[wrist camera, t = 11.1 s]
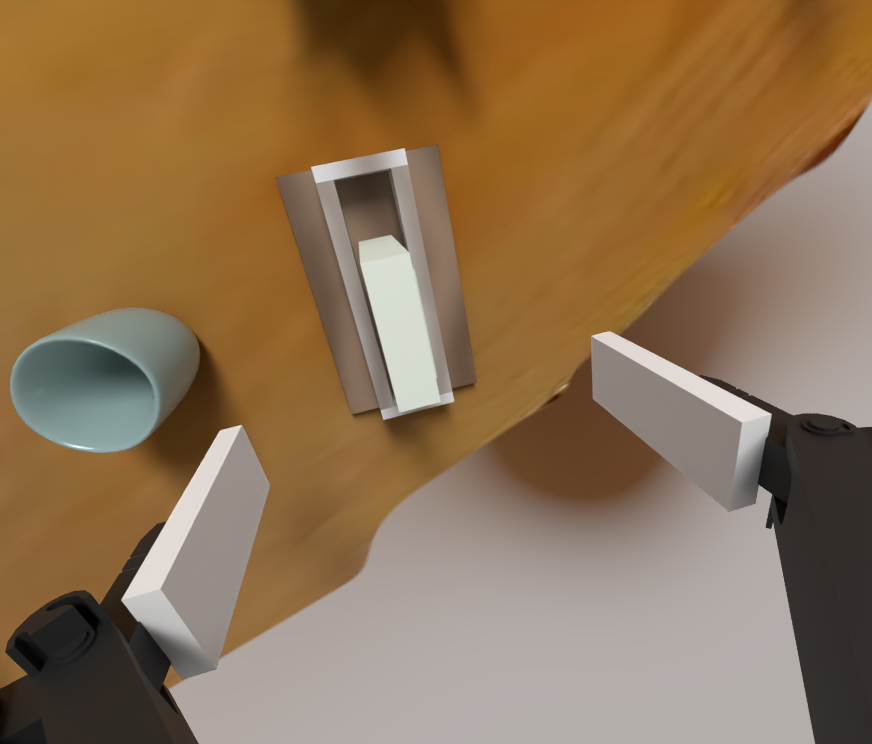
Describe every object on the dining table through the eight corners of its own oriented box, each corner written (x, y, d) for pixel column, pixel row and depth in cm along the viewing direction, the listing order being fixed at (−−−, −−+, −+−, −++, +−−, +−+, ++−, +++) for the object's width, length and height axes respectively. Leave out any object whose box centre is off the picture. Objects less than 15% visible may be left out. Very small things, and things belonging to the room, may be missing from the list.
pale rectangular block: (385, 347, 35) (399, 412, 25) (358, 241, 32) (360, 263, 21) (416, 340, 36) (444, 401, 25) (393, 234, 32) (413, 251, 21)
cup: (224, 318, 33) (175, 363, 24) (200, 399, 35) (146, 468, 26) (115, 280, 31) (15, 314, 22) (96, 370, 33) (-2, 434, 24)
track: (352, 409, 38) (351, 428, 35) (278, 177, 30) (269, 175, 27) (474, 378, 39) (484, 393, 36) (435, 146, 31) (444, 140, 28)
